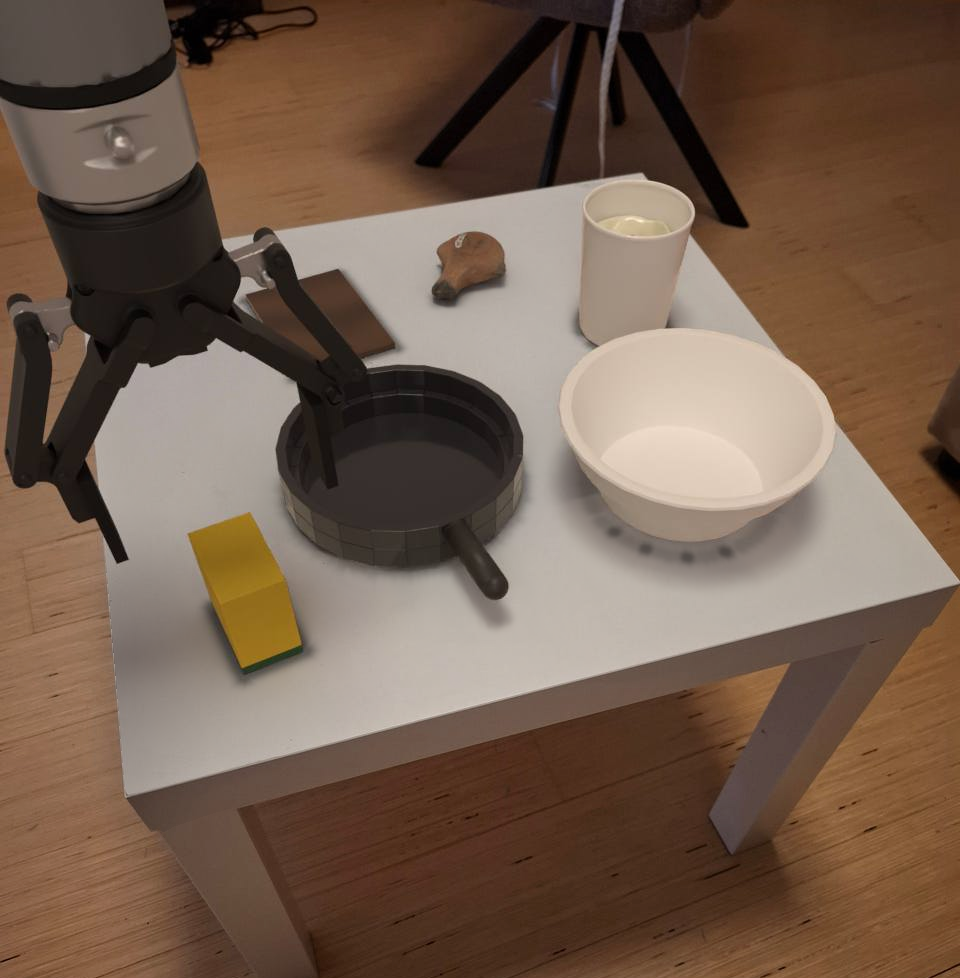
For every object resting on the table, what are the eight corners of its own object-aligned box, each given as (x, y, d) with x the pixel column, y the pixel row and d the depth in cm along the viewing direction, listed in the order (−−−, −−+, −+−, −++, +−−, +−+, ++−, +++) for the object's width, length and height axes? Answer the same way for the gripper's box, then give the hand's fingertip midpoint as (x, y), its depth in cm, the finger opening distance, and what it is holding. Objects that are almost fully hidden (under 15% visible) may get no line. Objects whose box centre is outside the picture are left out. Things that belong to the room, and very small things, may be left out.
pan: (252, 448, 81) (242, 406, 77) (455, 382, 86) (455, 340, 83) (339, 606, 70) (332, 566, 67) (564, 519, 76) (569, 478, 72)
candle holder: (643, 288, 95) (662, 170, 86) (690, 344, 90) (716, 224, 80) (555, 309, 93) (564, 190, 84) (597, 366, 88) (612, 247, 78)
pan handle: (439, 536, 71) (438, 518, 70) (463, 527, 72) (462, 509, 70) (488, 609, 67) (489, 591, 66) (513, 599, 68) (514, 581, 66)
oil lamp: (413, 275, 98) (440, 318, 94) (406, 240, 95) (434, 283, 90) (492, 247, 99) (522, 288, 95) (488, 212, 96) (519, 253, 91)
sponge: (213, 606, 70) (187, 533, 64) (270, 585, 72) (250, 511, 65) (244, 675, 67) (219, 604, 60) (303, 651, 68) (285, 579, 62)
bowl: (727, 384, 86) (748, 305, 80) (857, 543, 74) (894, 466, 68) (514, 436, 82) (517, 357, 75) (616, 614, 70) (630, 539, 64)
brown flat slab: (246, 299, 94) (245, 294, 94) (338, 273, 97) (338, 268, 96) (296, 378, 87) (295, 373, 86) (395, 347, 89) (395, 342, 89)
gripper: (-174, 291, 37) (35, 624, 54) (406, 145, 43) (429, 482, 60) (-189, 203, 41) (10, 539, 58) (344, 82, 47) (382, 414, 64)
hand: (224, 510), depth 59 cm, fingers open, 13 cm apart
